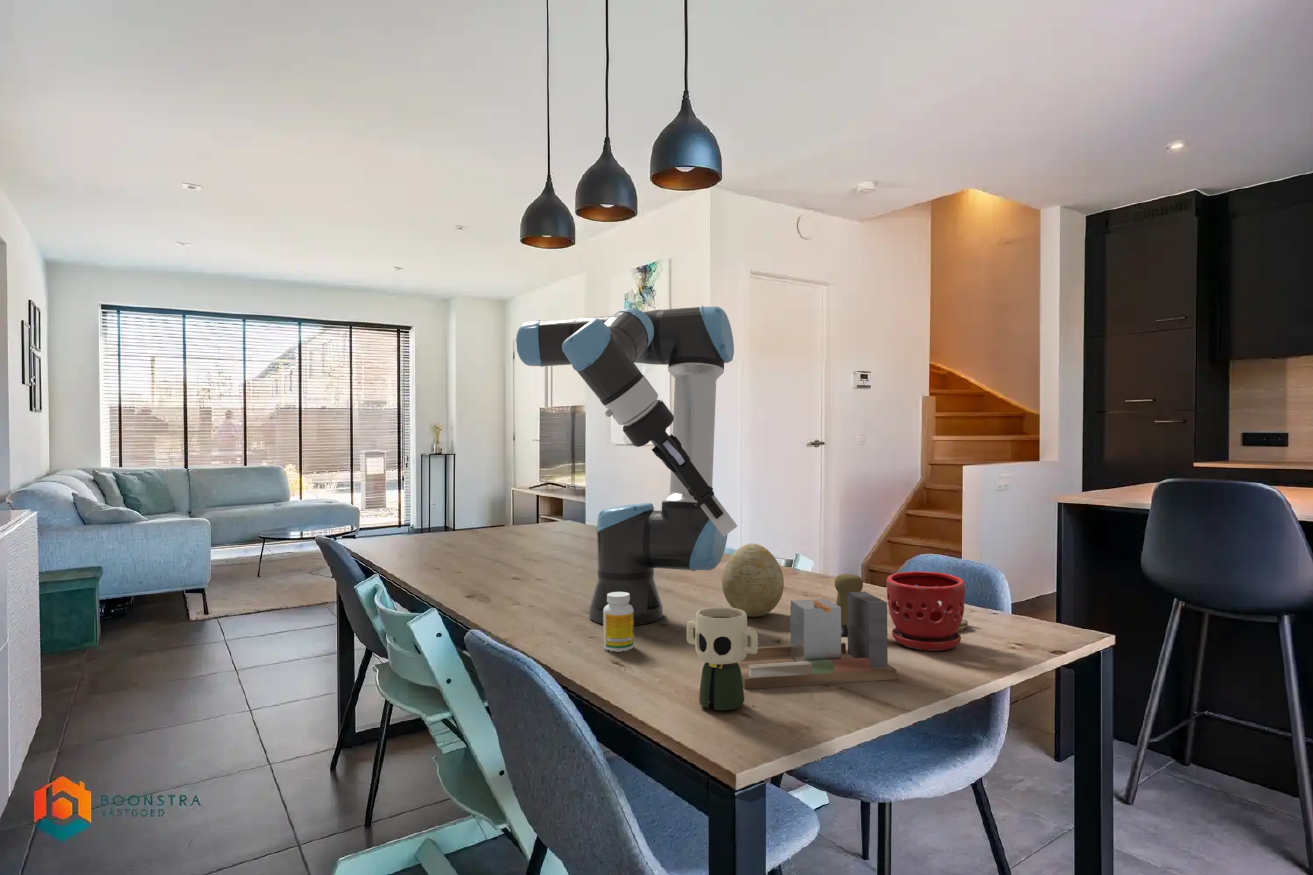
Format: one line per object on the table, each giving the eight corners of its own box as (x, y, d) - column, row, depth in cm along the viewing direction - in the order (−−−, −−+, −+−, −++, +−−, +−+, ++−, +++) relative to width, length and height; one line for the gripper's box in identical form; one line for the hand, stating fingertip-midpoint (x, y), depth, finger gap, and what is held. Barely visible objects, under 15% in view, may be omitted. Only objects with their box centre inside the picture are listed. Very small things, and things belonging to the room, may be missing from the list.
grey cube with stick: (790, 656, 120) (790, 596, 120) (837, 653, 121) (837, 594, 121) (809, 672, 111) (809, 608, 111) (860, 669, 113) (859, 606, 113)
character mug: (674, 706, 103) (674, 612, 103) (699, 691, 109) (698, 602, 109) (746, 722, 97) (746, 623, 97) (768, 705, 103) (767, 611, 103)
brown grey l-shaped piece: (725, 666, 121) (725, 595, 120) (865, 657, 124) (864, 589, 124) (744, 689, 110) (744, 611, 110) (896, 679, 114) (896, 604, 113)
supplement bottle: (598, 646, 133) (598, 592, 132) (626, 642, 135) (626, 589, 135) (610, 654, 128) (610, 598, 128) (638, 649, 130) (638, 595, 130)
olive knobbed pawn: (866, 637, 137) (866, 578, 137) (833, 636, 138) (832, 577, 138) (864, 629, 143) (864, 572, 143) (832, 627, 144) (831, 571, 144)
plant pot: (878, 634, 139) (878, 570, 139) (949, 634, 138) (949, 570, 138) (899, 655, 126) (898, 584, 126) (977, 655, 125) (977, 584, 125)
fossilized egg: (766, 606, 162) (766, 537, 162) (795, 620, 150) (794, 546, 150) (712, 611, 158) (712, 541, 158) (737, 625, 146) (737, 549, 146)
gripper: (615, 423, 118) (701, 534, 123) (626, 432, 106) (722, 556, 110) (652, 394, 119) (736, 506, 124) (668, 400, 106) (761, 525, 111)
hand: (729, 530), depth 117 cm, fingers closed
